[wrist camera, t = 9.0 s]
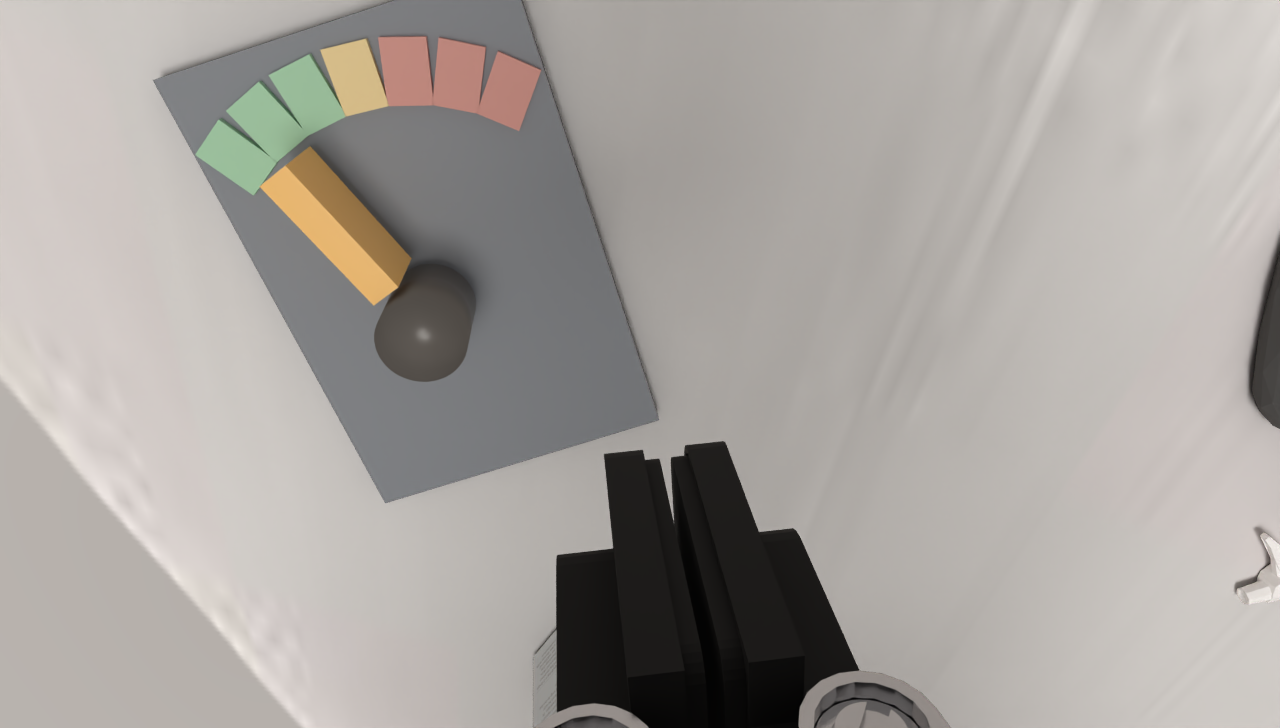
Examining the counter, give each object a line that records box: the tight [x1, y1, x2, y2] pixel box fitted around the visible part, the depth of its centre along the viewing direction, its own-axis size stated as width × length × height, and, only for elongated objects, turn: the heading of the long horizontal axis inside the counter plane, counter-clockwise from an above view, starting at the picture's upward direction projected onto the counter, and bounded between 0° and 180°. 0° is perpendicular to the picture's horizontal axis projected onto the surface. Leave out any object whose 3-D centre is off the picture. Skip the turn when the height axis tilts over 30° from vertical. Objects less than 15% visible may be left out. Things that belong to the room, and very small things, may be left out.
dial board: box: [153, 0, 659, 503], centre depth 34 cm, size 20×14×1 cm
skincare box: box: [533, 629, 557, 728], centre depth 39 cm, size 6×4×12 cm
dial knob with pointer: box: [259, 146, 476, 382], centre depth 31 cm, size 9×3×4 cm, turn 35°
